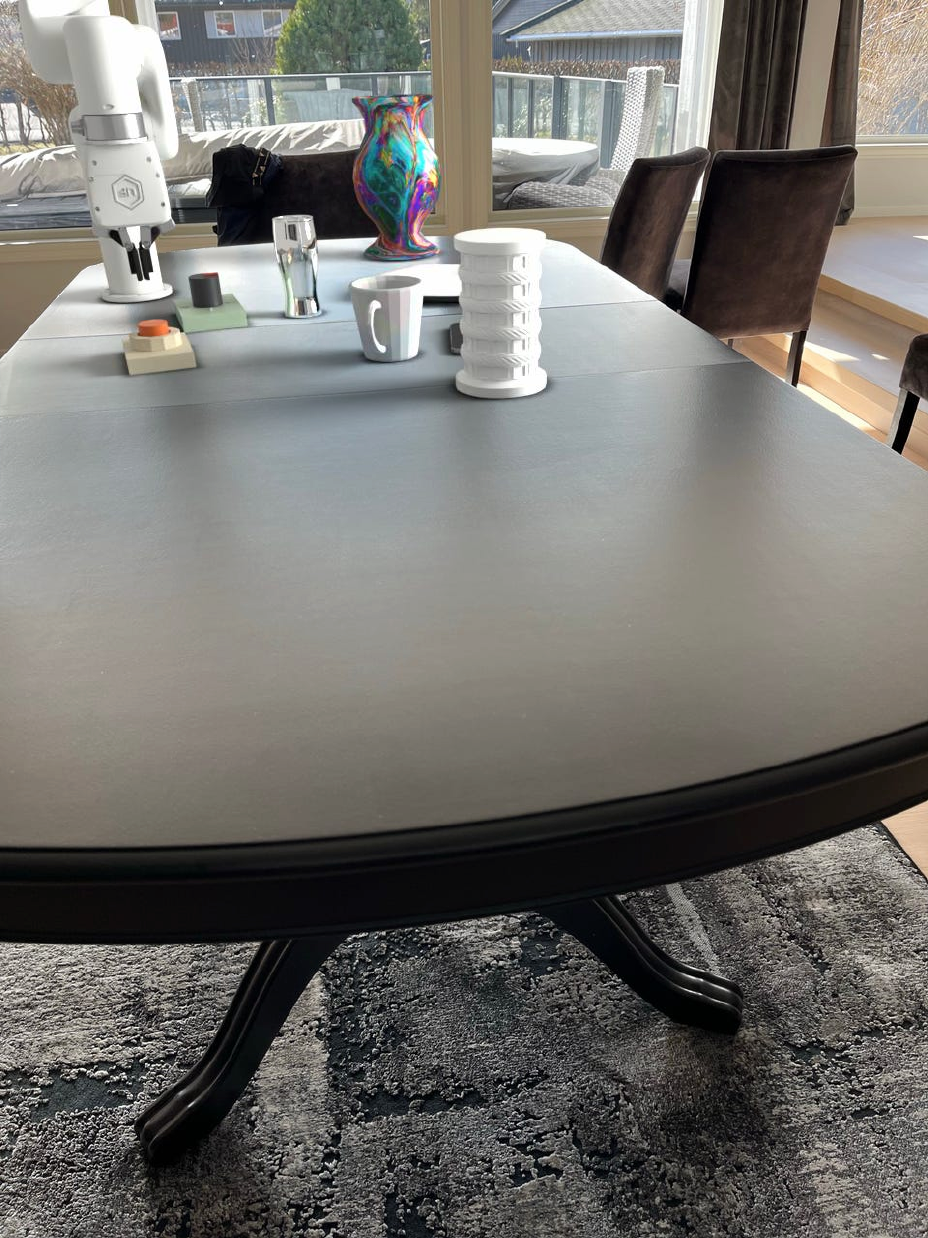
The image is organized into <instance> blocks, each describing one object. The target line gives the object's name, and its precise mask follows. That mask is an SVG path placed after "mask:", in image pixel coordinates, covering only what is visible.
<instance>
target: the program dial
mask: <svg viewBox="0 0 928 1238" xmlns="http://www.w3.org/2000/svg"><path fill="white" fill-rule="evenodd" d="M187 279H188V284H189V290H190V295H191V298H192V302H193V306H194V307H199V308H207V307H215V306H219V305H221V304H223V300H222V295H223V294H222V288H221V283H220V282H221V281H220V276H219V272H202V273H194V274H191V275H189V276H188V278H187Z"/></svg>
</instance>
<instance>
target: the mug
mask: <svg viewBox="0 0 928 1238" xmlns="http://www.w3.org/2000/svg"><path fill="white" fill-rule="evenodd" d="M348 291H349V295H350V300H351V304H352V308H353V312H354V317H355V321H356V325H357V329H358V334H359V338H360V342H361V346H362V351H363V354H364V356H365V358H366V359H368V360H371V361H374V362H380V363H381V362H383V363H393V362H402V361H407V360H409V359H412V358H414V357H416V356H417V354H418V352H419V345H420V342H419V341H420V333H421V324H422V323H421V322H422V312H423V302H424V301H423V292H424V281H423V280H422V279H420V278H417V277H413V276H406V275H382V276H375V275H372V276H366V277H362V278H361V277H360V278H358V279H354V280H353V281H351V282H350V283H349V284H348Z"/></svg>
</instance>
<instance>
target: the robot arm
mask: <svg viewBox="0 0 928 1238" xmlns="http://www.w3.org/2000/svg"><path fill="white" fill-rule="evenodd" d="M17 1H18V2H17V8H18V18H19V24H20V27H21V33H22V38H23V43H24V50H25V53H26V57H27V59H28V62H29V65H30V67H31V69H32V70H33V72H34V74H35V75H36V76H37V78H39V79H40V80H41V81H43V82H45V83H47V84H50V85H73V86H74V90H75V95H76V101H77V105H76V106H75V107H74V108H72V109H71V111H70V113H69V115H68V130H69V133H70V138H71V140H72V143H73V146H74V148H75V151H76V154H77V158H78V161H79V163H80V166H81V169H82V176H83V182H84V189H85V196H86V199H87V200H86V201H87V205H88V211H89V214H90V217H91V232H92V235H93V236H94V237H97V239H98V243H99V248H100V253H101V258H102V263H103V267H104V271H105V276H106V281H107V285H108V288H105V289H103V290H102V291H101V293H100V295H101V298H102V300H103V301H106V302H109V303H140V302H148V301H154V300H159V299H162V298H165V297H169V296H170V295H172V294H173V291H174V290H173V286H172V285H171V284H169V283H164V282H163V278H162V273H161V269H160V263H159V257H158V251H157V246H156V240H157V238H158V237H159V236H160V235H164V234H167V233H168V232H172V231H174V230H175V228H176V224H175V222H174V219H173V218H172V212H171V211H172V210H171V203H170V198H169V194H168V189H167V188H168V187H167V184H166V179H165V174H164V171H163V167H162V163H161V162H162V161H169V160H171V159H174V158H175V157H177V154H178V151H179V134H178V126H177V120H176V114H175V107H174V103H173V102H174V101H173V96H172V90H171V84H170V77H169V72H168V71H169V70H168V64H167V60H166V55H165V51H164V48H163V44H162V42H161V39H160V37H159V35H158V34H157V33H156V31H155V30H154V29H153V28H151V27H150V26H147V25H145V24H139V23H137V24H136V23H131V22H130V21H129V20H128V19H127V18H125V17H122V16H119V15H113V14H112V15H111V12H110V6H109V1H108V0H17ZM140 94H142V95H143V97H144V98H145V99H141V98H140Z"/></svg>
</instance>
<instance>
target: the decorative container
mask: <svg viewBox="0 0 928 1238" xmlns="http://www.w3.org/2000/svg"><path fill="white" fill-rule="evenodd" d="M545 246H546V233H545V232H544V231H542V230H538V229H532V228H522V227H491V228H480V229H479V228H478V229H472V230H471V229H470V230H466V231H462V232H458V233H456V234H454V235H453V248H454V250H455V251H457V252H459V253H460V263H459V269H458V275H459V279H460V280H461V284H462V291H461V292H460V295H459V301H458V302H459V306H460V308H461V311H462V312H461V313H462V315H461V318H460V319H459V321H460V322H459V323H460V330H461V333H462V334H463V344H462V346H461V352H460V353H459V354H460V356H461V359H462V360H463V368H462V369H460V370H459V371H458V372H457V373H456V374H455V387H456V389H457V390H458V391H459V392H461V393H462V394H465V395H468V396H471V397H477V398H483V399H514V398H520V397H526V396H530V395H534V394H536V393H538V392H541V391H542V390H543V389H545V388H546V385H547V372H546V371H545V370H544V369H542V368H541V367H540V366H539V358H540V356H541V353H542V347H541V343H540V341H539V333H540V331H541V328H542V320H541V317H540V315H539V307H540V305H541V302H542V298H543V296H542V291H541V290H540V287H539V285H540V283H539V282H540V279H541V277H542V271H543V268H542V263H541V261H540V251H541V250H542V249H544V248H545Z"/></svg>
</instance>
